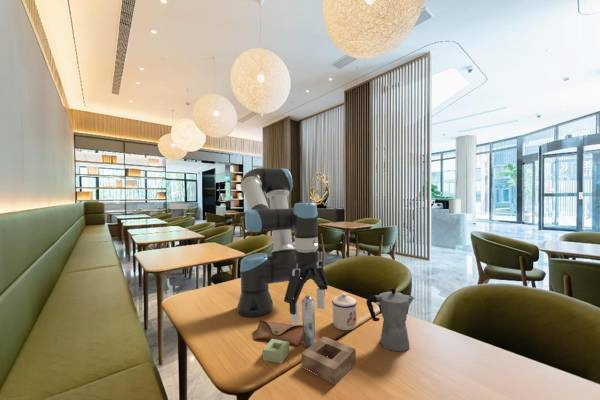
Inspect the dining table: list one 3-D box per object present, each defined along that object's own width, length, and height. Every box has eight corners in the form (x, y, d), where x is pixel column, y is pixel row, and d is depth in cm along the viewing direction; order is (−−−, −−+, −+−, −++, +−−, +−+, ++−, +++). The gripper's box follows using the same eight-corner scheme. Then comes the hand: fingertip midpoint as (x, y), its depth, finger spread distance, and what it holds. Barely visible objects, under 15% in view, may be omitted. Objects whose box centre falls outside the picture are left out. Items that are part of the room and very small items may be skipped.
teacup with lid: (351, 333, 88) (350, 300, 88) (328, 326, 93) (327, 295, 93) (364, 319, 98) (363, 289, 97) (342, 313, 103) (341, 285, 103)
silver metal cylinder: (300, 344, 82) (299, 296, 82) (308, 338, 85) (307, 292, 85) (310, 348, 80) (309, 299, 80) (317, 342, 83) (316, 295, 83)
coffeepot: (408, 334, 86) (407, 282, 86) (422, 351, 77) (421, 292, 77) (363, 336, 86) (362, 283, 86) (371, 353, 77) (370, 294, 76)
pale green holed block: (263, 359, 75) (262, 349, 75) (272, 348, 81) (271, 338, 81) (281, 363, 73) (281, 353, 73) (289, 351, 79) (289, 341, 79)
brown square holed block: (301, 367, 71) (301, 353, 71) (324, 348, 79) (323, 336, 79) (335, 385, 64) (334, 369, 64) (355, 362, 72) (355, 348, 72)
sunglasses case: (249, 340, 85) (253, 318, 88) (257, 341, 91) (260, 320, 94) (301, 347, 81) (303, 324, 84) (306, 347, 87) (308, 325, 90)
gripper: (289, 258, 70) (291, 335, 70) (337, 245, 89) (339, 305, 89) (270, 255, 75) (273, 327, 75) (319, 243, 94) (321, 300, 94)
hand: (308, 315), depth 82 cm, fingers open, 13 cm apart
